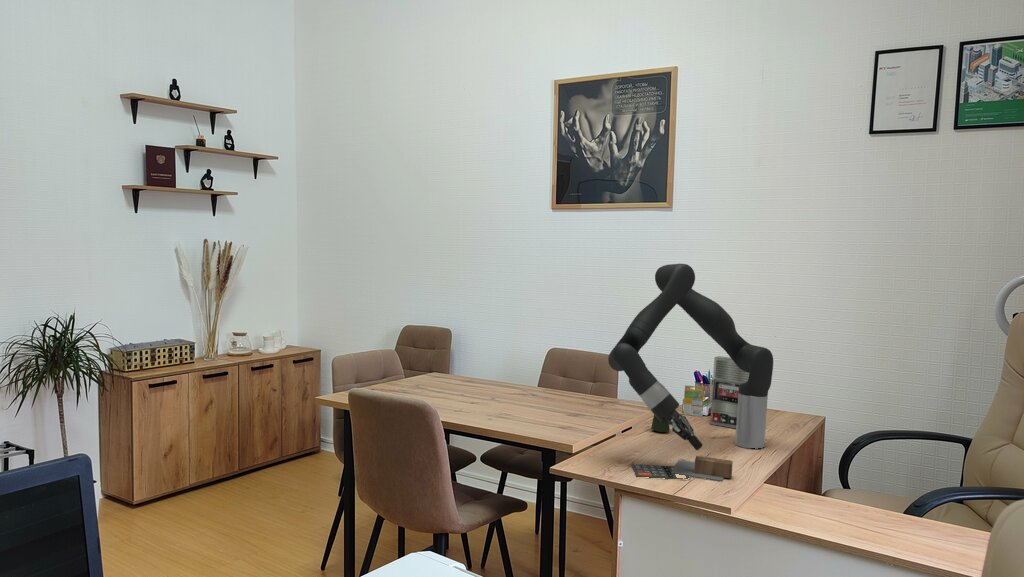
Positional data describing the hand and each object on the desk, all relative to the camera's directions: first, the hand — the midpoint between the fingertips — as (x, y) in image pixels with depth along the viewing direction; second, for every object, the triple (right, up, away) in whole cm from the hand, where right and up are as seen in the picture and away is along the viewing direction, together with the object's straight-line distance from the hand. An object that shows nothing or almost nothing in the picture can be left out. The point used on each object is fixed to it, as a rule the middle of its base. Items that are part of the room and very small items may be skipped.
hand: (700, 447), depth 207 cm
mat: (0, -7, +2) cm, 8 cm away
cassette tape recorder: (+27, -5, +60) cm, 65 cm away
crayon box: (+17, -4, +76) cm, 78 cm away
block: (-1, -5, +1) cm, 5 cm away
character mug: (-2, -5, +47) cm, 47 cm away
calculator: (-12, -7, -1) cm, 14 cm away
